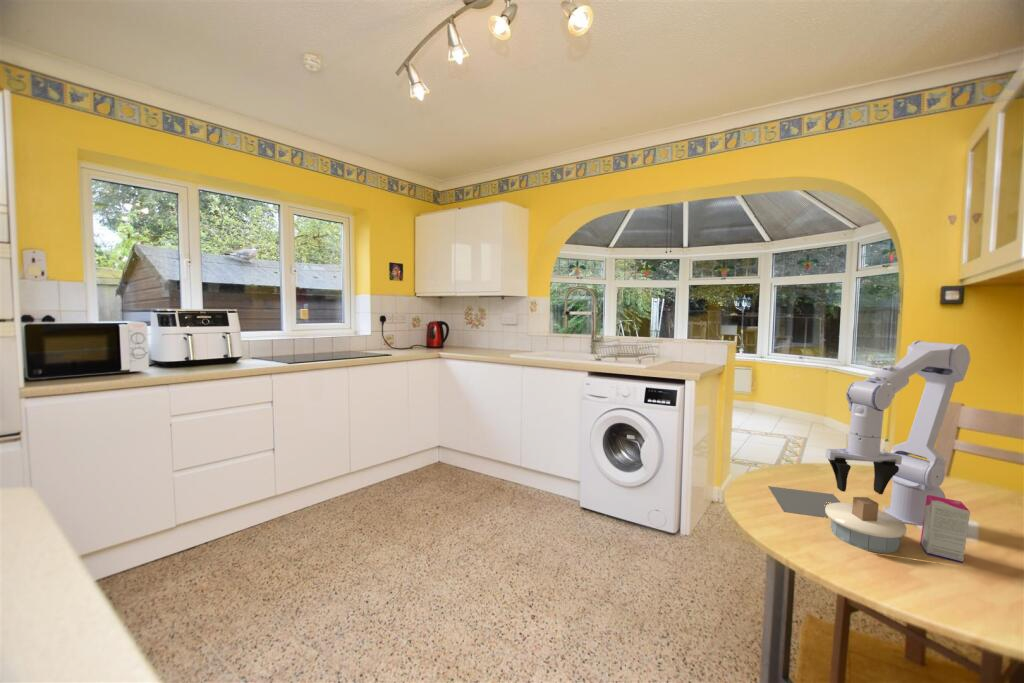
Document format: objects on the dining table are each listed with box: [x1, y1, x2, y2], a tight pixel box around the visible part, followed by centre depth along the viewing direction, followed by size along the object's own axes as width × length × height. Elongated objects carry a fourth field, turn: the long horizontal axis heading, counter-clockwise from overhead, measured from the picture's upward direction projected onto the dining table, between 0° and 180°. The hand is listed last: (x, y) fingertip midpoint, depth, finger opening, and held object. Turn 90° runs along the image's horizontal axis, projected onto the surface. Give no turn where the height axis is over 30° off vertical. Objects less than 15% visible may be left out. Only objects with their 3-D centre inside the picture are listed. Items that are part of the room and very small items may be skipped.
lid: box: [825, 496, 908, 538], centre depth 100 cm, size 14×14×5 cm
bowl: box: [830, 519, 902, 555], centre depth 100 cm, size 12×12×4 cm
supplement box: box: [919, 495, 971, 564], centre depth 95 cm, size 6×6×12 cm
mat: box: [768, 485, 842, 519], centre depth 117 cm, size 16×16×1 cm
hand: (859, 491), depth 103 cm, fingers open, 7 cm apart
